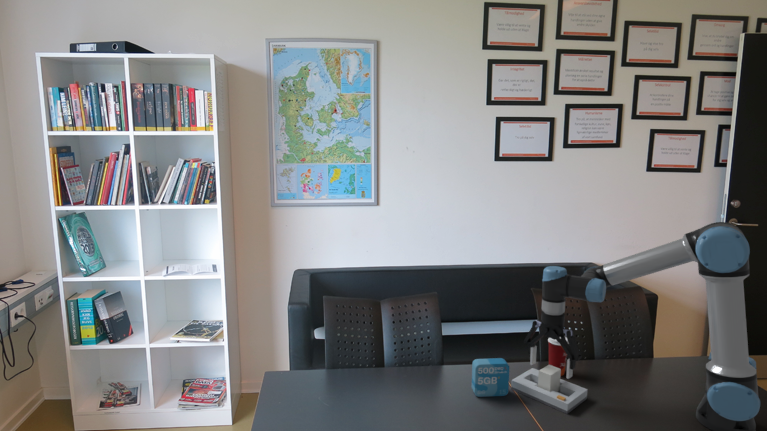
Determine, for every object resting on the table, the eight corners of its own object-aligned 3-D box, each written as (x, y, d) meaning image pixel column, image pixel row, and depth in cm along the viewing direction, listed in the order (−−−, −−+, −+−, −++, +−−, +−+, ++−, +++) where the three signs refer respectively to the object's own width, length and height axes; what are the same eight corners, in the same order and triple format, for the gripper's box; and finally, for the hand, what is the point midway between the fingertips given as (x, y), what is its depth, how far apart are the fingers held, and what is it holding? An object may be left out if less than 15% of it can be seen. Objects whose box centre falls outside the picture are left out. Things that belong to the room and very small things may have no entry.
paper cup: (568, 378, 176) (571, 343, 174) (547, 376, 177) (549, 341, 175) (565, 368, 183) (567, 334, 181) (544, 366, 185) (546, 333, 183)
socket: (586, 398, 161) (587, 387, 161) (567, 414, 152) (567, 402, 152) (532, 376, 177) (532, 366, 176) (511, 389, 168) (511, 378, 167)
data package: (474, 397, 162) (475, 364, 161) (471, 390, 167) (472, 358, 165) (508, 396, 163) (509, 363, 161) (504, 389, 168) (505, 357, 166)
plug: (549, 397, 160) (550, 375, 159) (537, 392, 164) (538, 370, 163) (563, 387, 167) (565, 366, 166) (552, 382, 170) (553, 361, 169)
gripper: (594, 318, 153) (591, 379, 156) (526, 300, 172) (524, 355, 175) (583, 324, 148) (580, 387, 151) (515, 305, 167) (513, 361, 170)
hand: (550, 370), depth 163 cm, fingers open, 13 cm apart
